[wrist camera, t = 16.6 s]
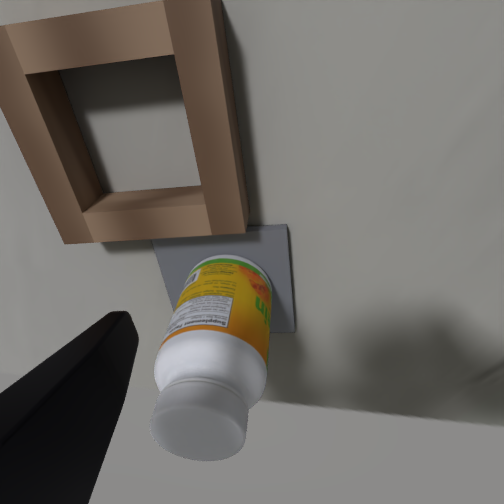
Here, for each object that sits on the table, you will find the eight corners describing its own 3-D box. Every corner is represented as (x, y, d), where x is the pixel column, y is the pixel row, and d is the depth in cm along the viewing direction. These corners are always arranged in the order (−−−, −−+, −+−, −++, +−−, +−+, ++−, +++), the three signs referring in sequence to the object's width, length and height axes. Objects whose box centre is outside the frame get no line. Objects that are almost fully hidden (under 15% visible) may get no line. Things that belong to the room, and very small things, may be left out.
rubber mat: (286, 224, 21) (286, 229, 20) (294, 325, 25) (294, 332, 25) (153, 232, 22) (150, 237, 21) (183, 328, 26) (180, 334, 26)
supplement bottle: (277, 316, 24) (271, 471, 16) (198, 321, 25) (154, 470, 17) (266, 247, 21) (252, 393, 13) (178, 255, 22) (112, 397, 14)
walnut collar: (220, -4, 15) (209, -8, 13) (250, 210, 20) (245, 233, 18) (5, 29, 17) (-36, 31, 14) (86, 222, 22) (64, 244, 20)
